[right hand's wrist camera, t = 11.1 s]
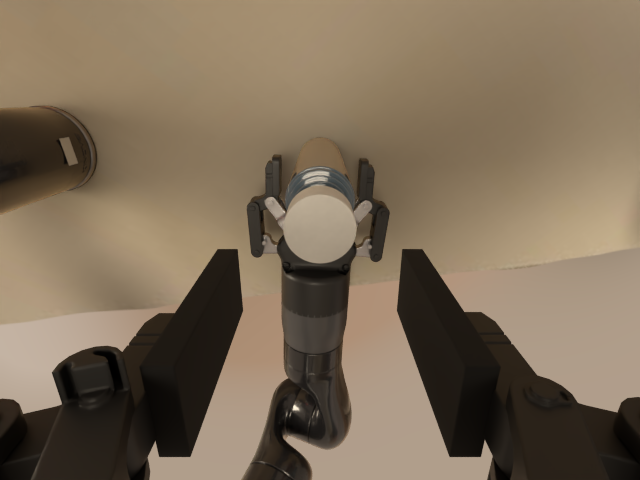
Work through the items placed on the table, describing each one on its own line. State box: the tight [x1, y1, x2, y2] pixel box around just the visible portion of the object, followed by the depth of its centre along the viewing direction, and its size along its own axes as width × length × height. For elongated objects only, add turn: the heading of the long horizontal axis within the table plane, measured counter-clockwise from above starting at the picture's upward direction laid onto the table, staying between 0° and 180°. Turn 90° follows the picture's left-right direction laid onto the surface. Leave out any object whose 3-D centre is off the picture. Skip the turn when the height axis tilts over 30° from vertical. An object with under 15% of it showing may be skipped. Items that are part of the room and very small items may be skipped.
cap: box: [283, 186, 357, 263], centre depth 21 cm, size 4×4×2 cm
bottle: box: [285, 137, 355, 210], centre depth 31 cm, size 5×5×24 cm
